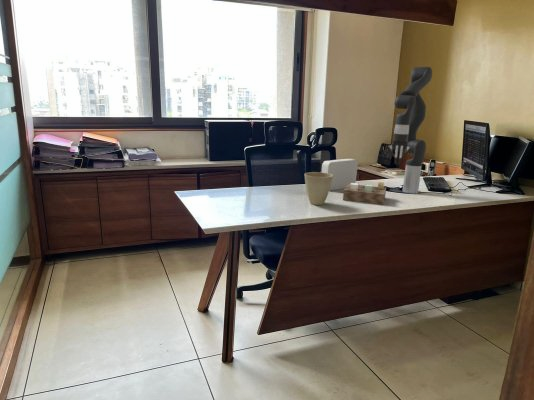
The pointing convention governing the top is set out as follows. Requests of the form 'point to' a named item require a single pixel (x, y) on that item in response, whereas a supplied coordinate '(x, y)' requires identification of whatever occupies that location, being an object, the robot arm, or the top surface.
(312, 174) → the plant pot
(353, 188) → the off-white button
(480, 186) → the top surface
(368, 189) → the sage green button
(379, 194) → the switch panel
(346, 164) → the rounded white slab
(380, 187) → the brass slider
